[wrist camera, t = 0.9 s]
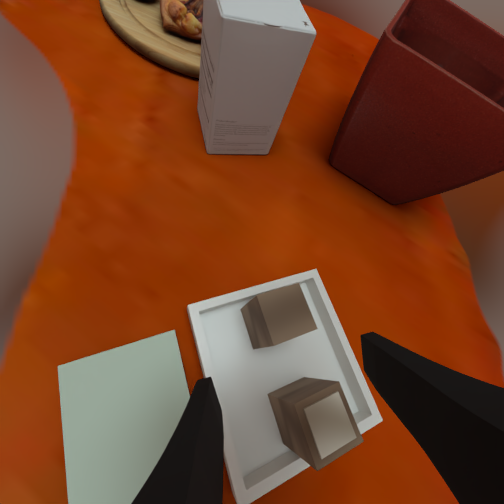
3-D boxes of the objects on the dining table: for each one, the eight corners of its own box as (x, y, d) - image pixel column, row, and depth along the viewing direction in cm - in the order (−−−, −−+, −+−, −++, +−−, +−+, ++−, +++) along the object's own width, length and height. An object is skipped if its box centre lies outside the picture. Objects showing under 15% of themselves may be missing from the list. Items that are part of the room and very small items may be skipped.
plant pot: (409, 235, 36) (568, 148, 22) (300, 165, 36) (384, 30, 21) (427, 160, 45) (547, 62, 30) (340, 105, 45) (418, -21, 30)
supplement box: (254, 111, 38) (293, -21, 25) (268, 156, 35) (321, 33, 22) (195, 106, 36) (204, -45, 22) (205, 155, 32) (222, 13, 19)
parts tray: (364, 415, 25) (382, 420, 22) (232, 493, 20) (239, 510, 17) (306, 275, 29) (316, 268, 27) (186, 310, 24) (187, 305, 22)
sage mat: (209, 481, 19) (209, 484, 19) (76, 554, 16) (72, 561, 16) (174, 330, 23) (174, 329, 23) (60, 365, 20) (57, 366, 19)
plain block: (288, 335, 25) (317, 328, 20) (253, 349, 24) (273, 345, 18) (275, 298, 26) (298, 282, 21) (240, 309, 25) (256, 295, 20)
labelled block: (320, 422, 23) (365, 442, 17) (283, 443, 21) (318, 472, 16) (304, 376, 24) (340, 381, 18) (267, 393, 22) (295, 404, 17)
